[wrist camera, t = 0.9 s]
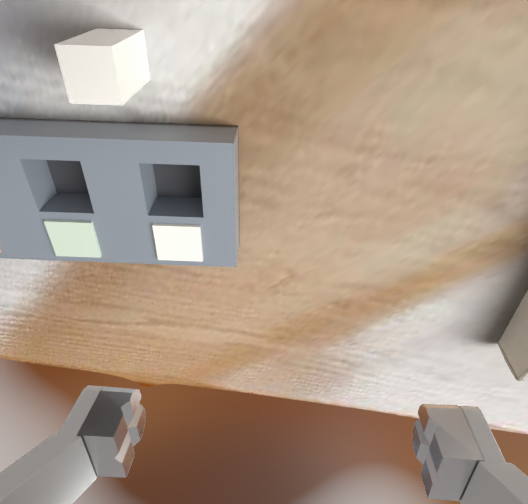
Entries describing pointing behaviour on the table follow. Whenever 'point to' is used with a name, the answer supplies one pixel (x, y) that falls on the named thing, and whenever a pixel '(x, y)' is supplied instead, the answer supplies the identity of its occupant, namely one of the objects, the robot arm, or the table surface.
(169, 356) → the table surface
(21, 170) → the socket block
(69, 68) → the plug
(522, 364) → the box
